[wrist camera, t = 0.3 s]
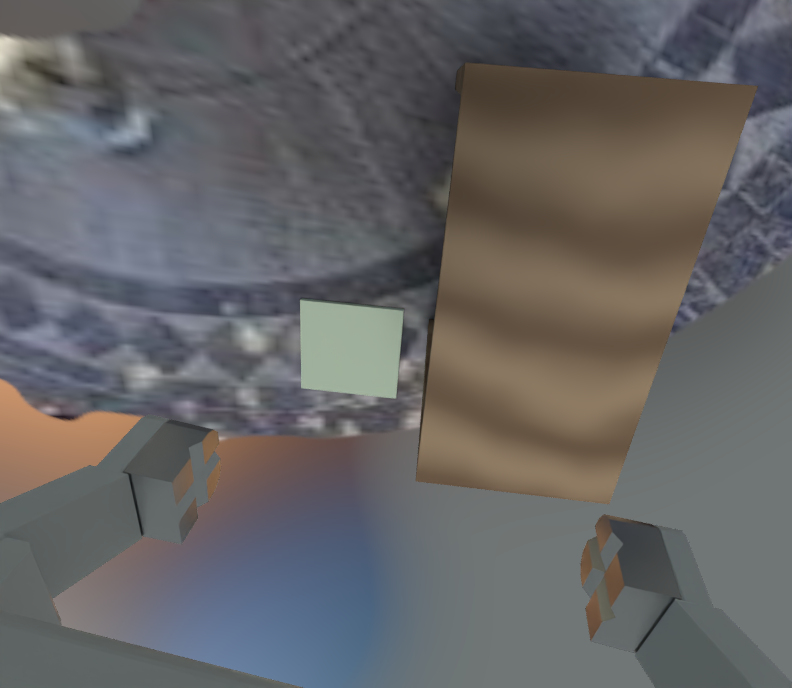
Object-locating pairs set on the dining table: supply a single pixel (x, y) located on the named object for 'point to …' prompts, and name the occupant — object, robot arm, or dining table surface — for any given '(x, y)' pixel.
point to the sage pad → (350, 347)
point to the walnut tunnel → (564, 269)
